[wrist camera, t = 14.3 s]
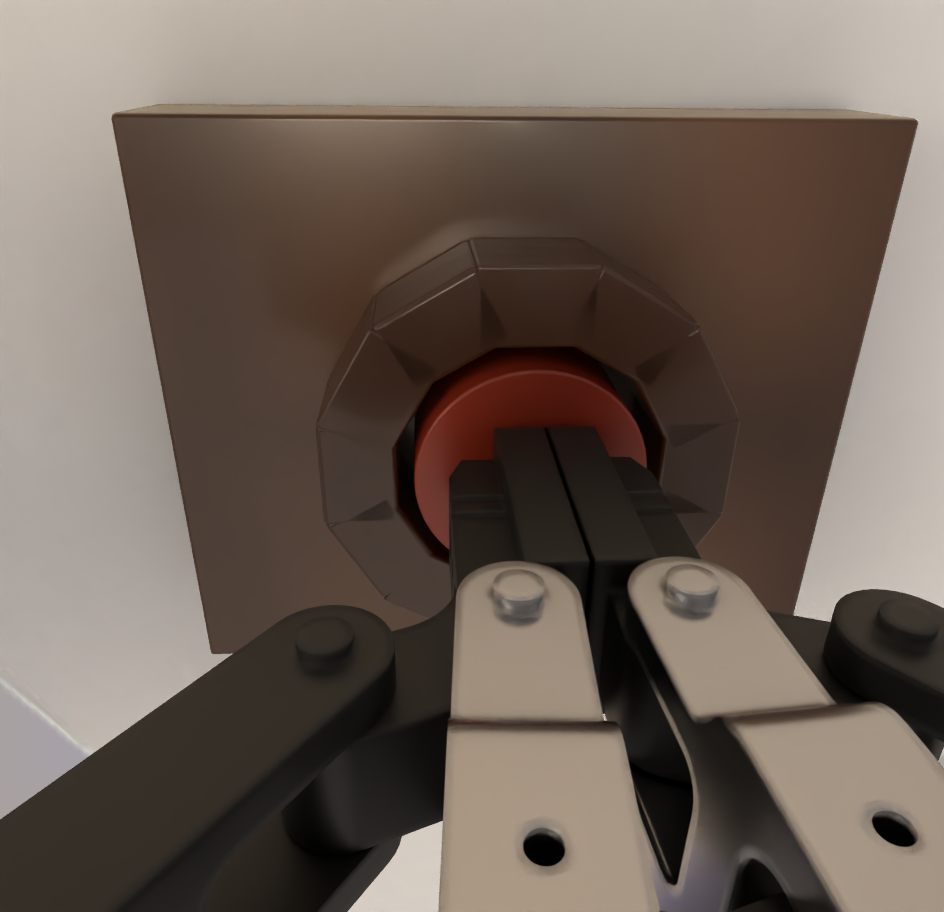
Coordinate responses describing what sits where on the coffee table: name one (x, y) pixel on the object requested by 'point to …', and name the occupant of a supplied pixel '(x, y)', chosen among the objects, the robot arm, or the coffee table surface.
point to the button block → (494, 318)
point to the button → (511, 415)
